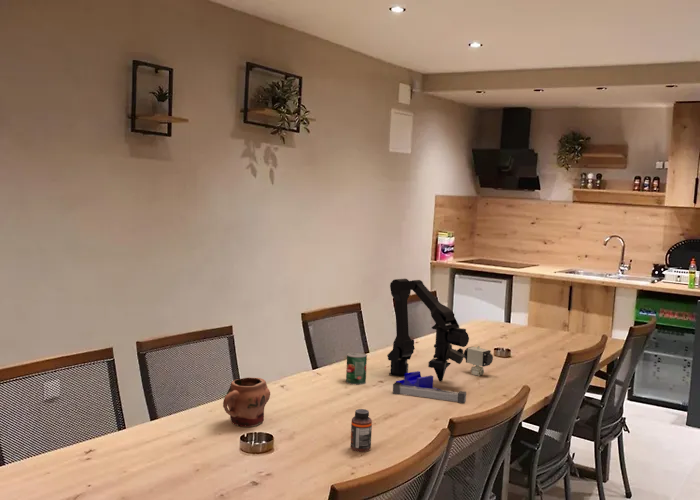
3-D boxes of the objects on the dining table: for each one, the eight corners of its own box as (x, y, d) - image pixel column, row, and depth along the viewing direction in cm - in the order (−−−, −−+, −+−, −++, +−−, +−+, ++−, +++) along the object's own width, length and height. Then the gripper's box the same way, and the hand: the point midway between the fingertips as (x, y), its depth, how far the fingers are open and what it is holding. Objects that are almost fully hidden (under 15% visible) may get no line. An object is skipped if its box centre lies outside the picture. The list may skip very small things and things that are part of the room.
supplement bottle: (349, 445, 205) (351, 407, 204) (369, 445, 205) (371, 407, 204) (351, 452, 199) (352, 414, 198) (371, 452, 199) (373, 414, 198)
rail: (392, 393, 259) (393, 384, 259) (395, 391, 262) (395, 382, 262) (464, 403, 250) (464, 393, 250) (465, 401, 253) (466, 391, 253)
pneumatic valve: (485, 378, 286) (487, 349, 285) (462, 372, 294) (463, 344, 293) (493, 376, 290) (494, 348, 289) (469, 370, 298) (471, 343, 297)
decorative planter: (242, 437, 208) (243, 391, 206) (209, 429, 213) (210, 385, 212) (278, 419, 226) (279, 377, 224) (247, 412, 231) (248, 371, 230)
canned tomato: (370, 382, 274) (371, 354, 273) (356, 385, 268) (357, 357, 267) (355, 378, 279) (356, 351, 278) (341, 381, 273) (342, 354, 272)
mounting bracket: (441, 394, 262) (442, 379, 261) (427, 397, 258) (428, 381, 257) (409, 383, 276) (410, 368, 276) (395, 385, 272) (396, 370, 271)
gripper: (458, 349, 258) (455, 390, 259) (468, 339, 275) (465, 378, 277) (429, 345, 262) (426, 386, 263) (440, 336, 279) (438, 374, 281)
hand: (440, 381), depth 271 cm, fingers closed
